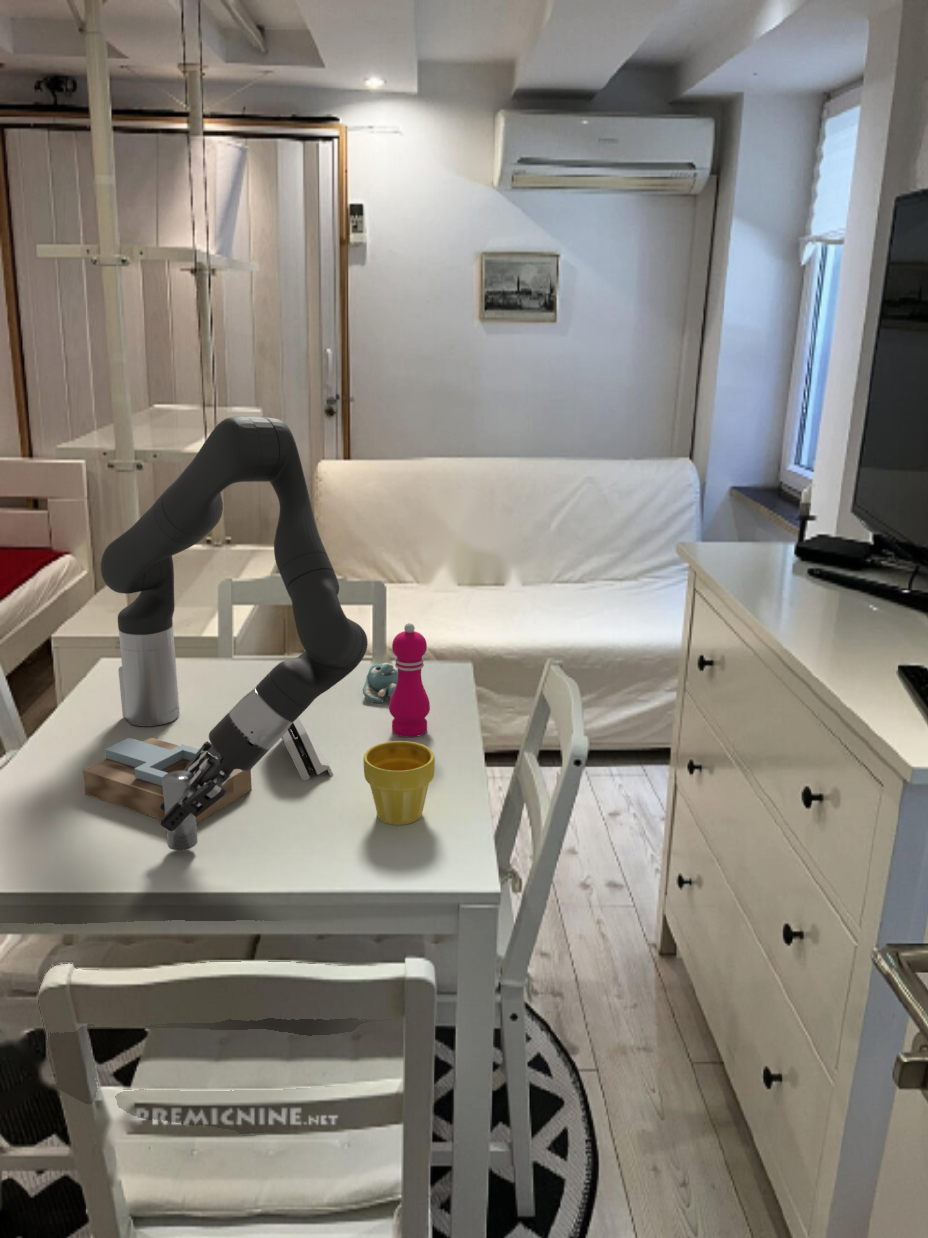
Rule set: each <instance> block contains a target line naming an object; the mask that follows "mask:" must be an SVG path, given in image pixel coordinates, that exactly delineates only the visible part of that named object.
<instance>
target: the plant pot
mask: <svg viewBox="0 0 928 1238" xmlns="http://www.w3.org/2000/svg"><path fill="white" fill-rule="evenodd" d="M435 757H436V756H435V754H434V751H433V750H432V749H431V748H430V747H428V746H427V745H425V744H422V743H419V742H415V741H407V740H393V741H391V740H390V741H386V742H382V743H377V744H376V745H374V746H371V747H370V748H368V750H366V751H365V753H364V755H363V774H364V778H365V781H366V782H367V783H368V784H369V786H370V787H369V788H370V790H371V794H372V799H373V801H374V806H375V810H376V815H377V817H378V819H379V820H380V821H381V822H383V823H385V824H388V825H394V826H403V825H408V824H412V823H414V822H416V821H418V820H419V819H420V818H421V816H422V815H423V811H424V807H425V803H426V797H427V793H428V789H429V785H430V783H431V782H432V781H433V779H434V777H435V765H436V764H435V763H436V762H435V761H436V760H435V759H436V758H435Z"/></svg>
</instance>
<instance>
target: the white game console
mask: <svg viewBox="0 0 928 1238" xmlns="http://www.w3.org/2000/svg"><path fill="white" fill-rule="evenodd" d="M280 739H281V740H282V742H283V745H284V746H285V748H286V750H287V752H288V754H289V756H290V757H291V758H290V759H291V760H292V761H293V763H294V766H295V767H296V770H297V772H298V774H299V776H300V778H301V780H302V781H308V780H309V779H311V776H312V773H313V774H316V775H320V774H322V773H324V772H325V771H327V772H328V774H329V776H330V777H332V776H334V774H333V771H332V769H331V767H330V765H329V762H328V761H327V760H326V758H325V756H324V754H323V752H322V751H321V749H320V747H319V746H318V744H317V742H316V740H315V739H314V737H313V735H312V733H311V732H310V730H309V728H307V727H306V726H305V727H304V725H303V723H302V721H301V719H300V716H299V717H298V718H297V719H296V720H295V721H294V722H293V723H292V724H291V726H290V727H289V728H288V730H287V731H286V733H285V734H284V735H283V736H282V737H281V738H280ZM311 770H312V773H311Z"/></svg>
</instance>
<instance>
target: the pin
mask: <svg viewBox="0 0 928 1238" xmlns="http://www.w3.org/2000/svg"><path fill="white" fill-rule="evenodd" d="M192 778H193V774H192V773H190V772H188V771H174V772H170V773H168V774H166V775H164V776H163V778H162V783H163V795H164V807H165V814H166V813H167V812H168V811H169V810H170V809H171V808H172V807H173V806H174V805H175V804H176V803H177V802H178V801H179V799H180V798H181V797H182V796H183V795H184V794H185V792H186V791H187V790H188V787H187V785H188V783H189V782H190V780H191V779H192ZM193 794H194V793H193ZM193 803H195V802H193ZM197 828H198V827H197V823H196V817H195V816H194V815H193V814H192V813H190V814H189V815H188V816H187V817H186V818H185V819H184V820H183V821H182V823H181V824H180V825H179V826H178V827H177V828H176V829H175V830H174V831H169V830H167V829H166V828H165V829H166V840H167V841H166V843H167V848H169V849H170V850H173V851H188V850H189V849H192V848H194V847H195V846H196V845H197V844H198V829H197Z"/></svg>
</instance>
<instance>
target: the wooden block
mask: <svg viewBox="0 0 928 1238" xmlns="http://www.w3.org/2000/svg"><path fill="white" fill-rule="evenodd" d="M142 742H145V743H148V744H152V745H155V746H159V747H162V748H165V749H169V750H172V749H174V748H176V747H178V746H179V745H178V744H174V743H173V742H168V741H165V740H160V739H158V738H154V737H149V738H146V739H145V740H143V741H142ZM189 762H190V760H186V759H182V760H180V761H178V762H176V763H174V764H172V765H170V766H168V767H166V768H164V769H163V770H161V771H164V772H167V773H170V772H174V771H183V770H184V769H185V767H186V766H187V765H188V764H189ZM134 768H136V767H133V766H129V765H126V764H123V763H120V762H117V761H113V760H110V759H107V758H105V759H103V760H101V761H99V762H97V763H95V764H93V765H91V766H89V767H86V768H84V769H82V778H83V779H82V780H83V786H84V794H85V795H88V796H91V797H94V798H96V799H99V800H102V801H106V802H108V803H110V804H114V805H117V806H120V807H123V808H126V809H128V810H132V811H135V812H137V813H140V814H144V815H146V816H149V817H153V818H156V819H157V820H161V819H162V817H163V816H164V815H165V811H163V810H162V809H161V802H162V801H163V800H164V795H163V786H160V785H157V784H154V783H151V782H147V781H144V780H141V779H138V778H135V770H134ZM196 771H197V770H196ZM251 772H252V769H251V770H249V771H243V770H241V769H234V770H233V772H232V773H231V774H230V777H229V779H228V780H227V782H226V783H225V784H224V785H222V786H221V787H222V788H223V789H224V790H226V792H225V794H224V796H223V797H221V798H220V799H219V800H218V801H216V802H215V803H214V804H213V805H211V806H210V807H209V808H207V809H206V810H205V811H204V812H202V813H201V814H200V815H199V816H197V817H196V824H198V823H199V822H201V821H202V820H204V819H206V818H208V817H209V816H211V815H213V814H214V813H216V812H217V811H220V810H221V809H222V808H224V807H226V806H227V805H229V804H231V803H232V802H234V801H236V800H237V799H239V798H241V797H242V796H244V795H246V794H247V793H249V792H251V791H252V790H253V789H252V787H253V786H252V773H251ZM199 789H200V788H199ZM195 802H196V801H195Z"/></svg>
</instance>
